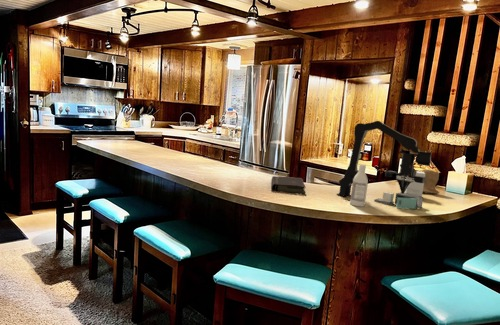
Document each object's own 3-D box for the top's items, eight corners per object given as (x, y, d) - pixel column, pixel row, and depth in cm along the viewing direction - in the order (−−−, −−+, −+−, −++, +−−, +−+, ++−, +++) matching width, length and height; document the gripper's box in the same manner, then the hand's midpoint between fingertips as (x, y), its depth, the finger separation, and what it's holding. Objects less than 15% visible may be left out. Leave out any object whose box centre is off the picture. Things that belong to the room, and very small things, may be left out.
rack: (417, 209, 189) (418, 198, 188) (393, 203, 197) (395, 193, 196) (423, 207, 195) (425, 196, 194) (400, 202, 203) (401, 191, 202)
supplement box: (420, 196, 228) (424, 171, 226) (421, 199, 219) (425, 173, 217) (404, 193, 231) (407, 169, 229) (405, 196, 222) (409, 171, 220)
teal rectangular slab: (413, 208, 190) (415, 198, 189) (416, 209, 188) (418, 199, 187) (395, 207, 188) (397, 197, 187) (398, 208, 186) (399, 198, 185)
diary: (270, 192, 199) (271, 182, 199) (271, 183, 224) (271, 175, 223) (306, 195, 198) (307, 186, 198) (302, 186, 223) (303, 178, 222)
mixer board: (388, 204, 194) (389, 202, 193) (374, 201, 199) (374, 199, 199) (393, 203, 198) (394, 201, 198) (379, 200, 203) (379, 198, 203)
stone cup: (433, 192, 249) (437, 169, 247) (441, 195, 237) (445, 172, 235) (409, 189, 249) (413, 167, 247) (417, 193, 237) (420, 169, 235)
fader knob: (389, 202, 194) (390, 193, 194) (382, 200, 197) (383, 192, 196) (392, 201, 197) (394, 193, 197) (385, 199, 200) (386, 191, 199)
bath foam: (353, 202, 190) (359, 163, 188) (366, 205, 186) (372, 165, 183) (347, 204, 185) (352, 163, 183) (360, 207, 181) (366, 166, 178)
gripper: (432, 165, 189) (427, 196, 191) (395, 159, 202) (391, 188, 204) (424, 166, 181) (419, 198, 183) (386, 160, 194) (382, 190, 196)
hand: (402, 193), depth 192 cm, fingers closed
